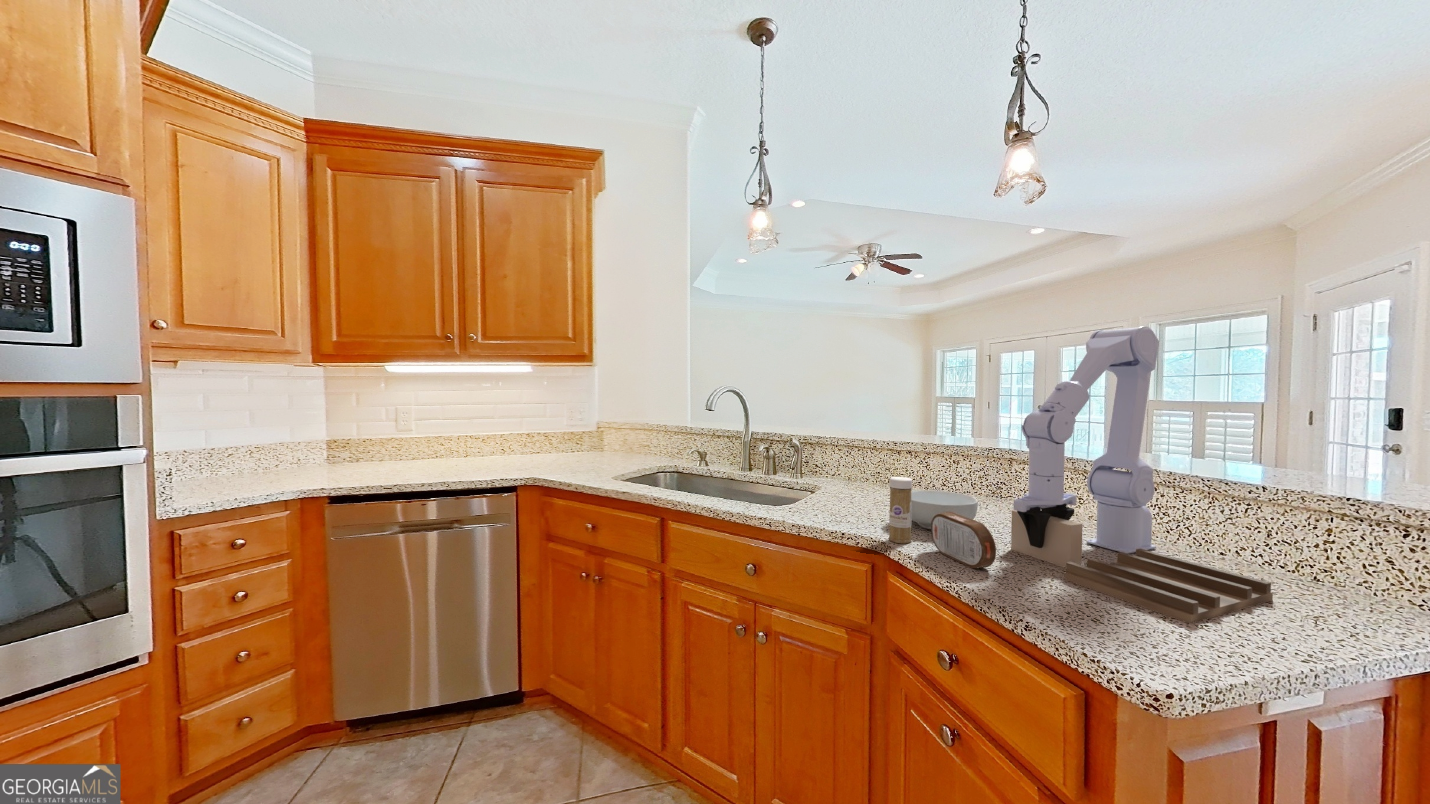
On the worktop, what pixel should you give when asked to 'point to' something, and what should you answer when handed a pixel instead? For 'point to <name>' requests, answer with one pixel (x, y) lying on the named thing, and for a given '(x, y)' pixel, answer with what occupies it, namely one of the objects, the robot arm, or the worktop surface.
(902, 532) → the sprinkles bottle
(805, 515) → the worktop surface
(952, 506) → the cereal bowl
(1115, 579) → the rack
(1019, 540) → the beige rectangular board
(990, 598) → the worktop surface
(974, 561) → the tin
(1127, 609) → the worktop surface
